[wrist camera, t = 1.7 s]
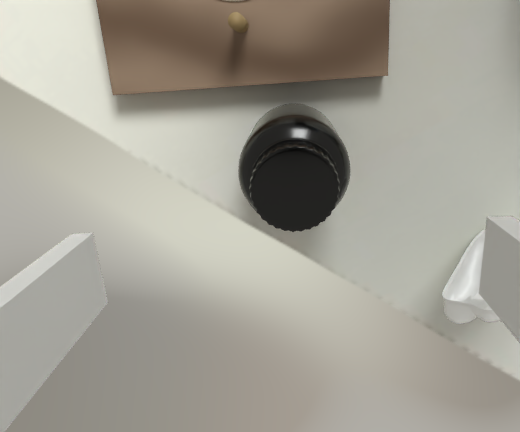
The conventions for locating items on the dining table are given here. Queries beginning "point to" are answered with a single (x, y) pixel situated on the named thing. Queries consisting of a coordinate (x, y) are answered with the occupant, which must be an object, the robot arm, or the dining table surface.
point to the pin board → (241, 42)
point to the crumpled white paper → (467, 287)
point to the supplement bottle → (294, 167)
